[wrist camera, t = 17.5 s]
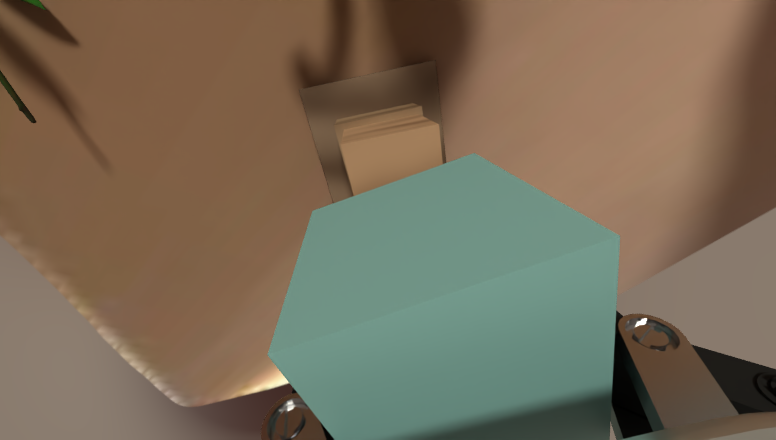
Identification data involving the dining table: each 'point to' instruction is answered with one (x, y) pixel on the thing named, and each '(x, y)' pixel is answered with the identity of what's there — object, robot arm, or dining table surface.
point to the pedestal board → (367, 112)
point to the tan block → (390, 151)
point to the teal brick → (453, 312)
